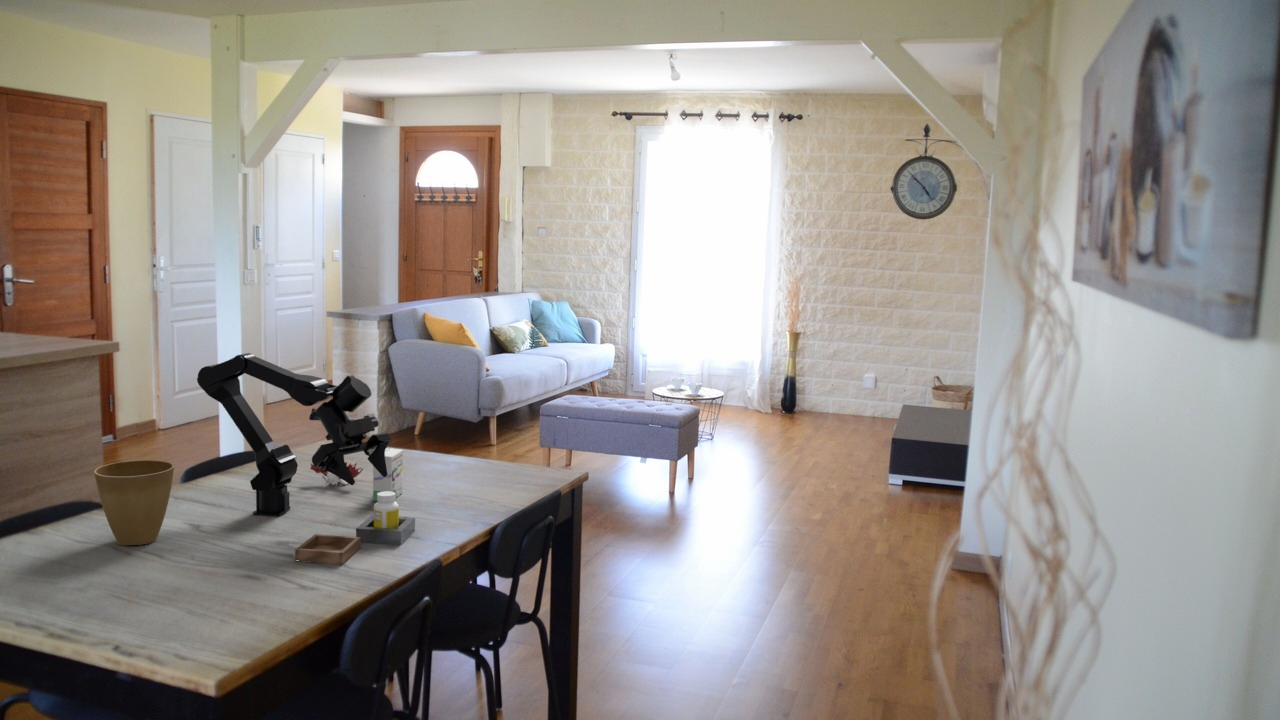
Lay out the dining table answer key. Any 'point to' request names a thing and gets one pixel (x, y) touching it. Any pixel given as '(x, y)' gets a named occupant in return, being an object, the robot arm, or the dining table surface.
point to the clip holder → (386, 531)
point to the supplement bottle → (386, 511)
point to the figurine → (333, 478)
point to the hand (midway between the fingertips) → (370, 480)
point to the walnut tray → (328, 549)
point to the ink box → (390, 474)
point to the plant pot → (135, 498)
